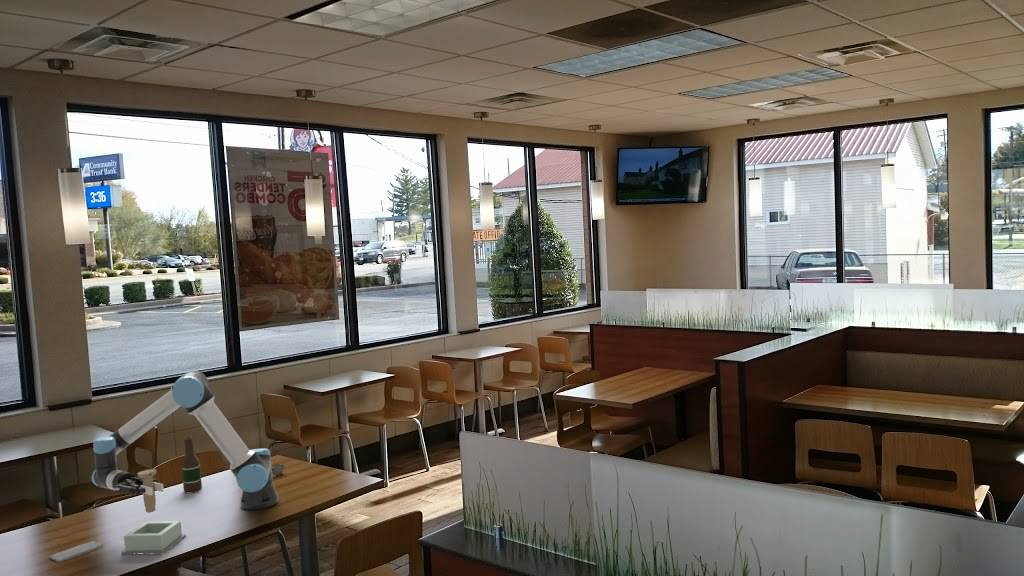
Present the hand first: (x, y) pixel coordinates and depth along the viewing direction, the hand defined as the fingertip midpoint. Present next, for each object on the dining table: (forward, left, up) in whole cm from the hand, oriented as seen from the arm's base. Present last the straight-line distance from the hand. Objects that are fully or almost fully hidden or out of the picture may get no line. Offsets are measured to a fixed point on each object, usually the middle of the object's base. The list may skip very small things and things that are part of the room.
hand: (157, 489), depth 292 cm
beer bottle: (+23, -65, -22) cm, 73 cm away
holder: (+5, -2, -22) cm, 22 cm away
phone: (+32, +3, -23) cm, 39 cm away
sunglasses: (-2, -86, -23) cm, 89 cm away
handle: (+5, -3, -9) cm, 11 cm away
